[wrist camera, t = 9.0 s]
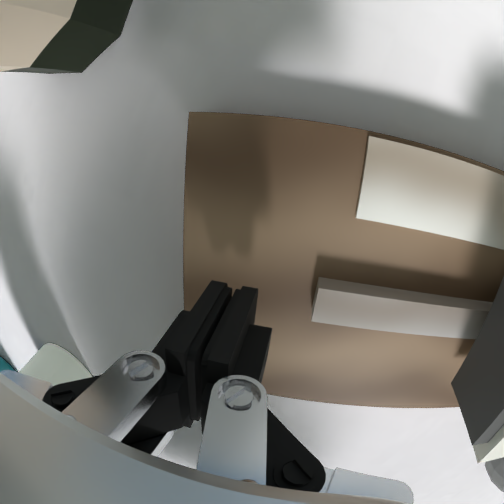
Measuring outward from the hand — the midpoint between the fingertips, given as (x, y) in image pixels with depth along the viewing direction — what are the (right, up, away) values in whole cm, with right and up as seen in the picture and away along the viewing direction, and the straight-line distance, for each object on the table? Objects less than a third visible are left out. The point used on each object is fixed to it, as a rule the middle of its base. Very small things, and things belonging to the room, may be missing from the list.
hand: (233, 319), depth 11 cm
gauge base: (+14, 0, +2) cm, 14 cm away
